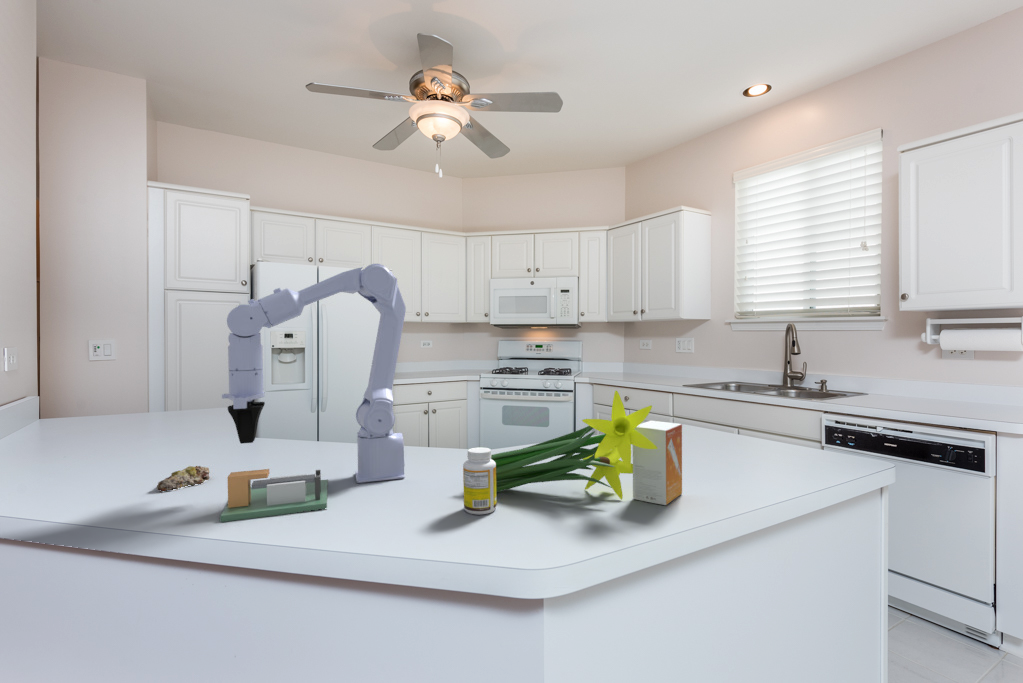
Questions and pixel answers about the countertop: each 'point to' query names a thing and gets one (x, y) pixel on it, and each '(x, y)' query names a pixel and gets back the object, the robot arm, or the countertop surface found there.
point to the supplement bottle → (479, 482)
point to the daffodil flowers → (604, 457)
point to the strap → (283, 480)
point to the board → (275, 509)
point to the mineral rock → (184, 478)
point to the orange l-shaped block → (242, 486)
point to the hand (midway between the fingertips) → (247, 442)
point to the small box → (658, 463)
